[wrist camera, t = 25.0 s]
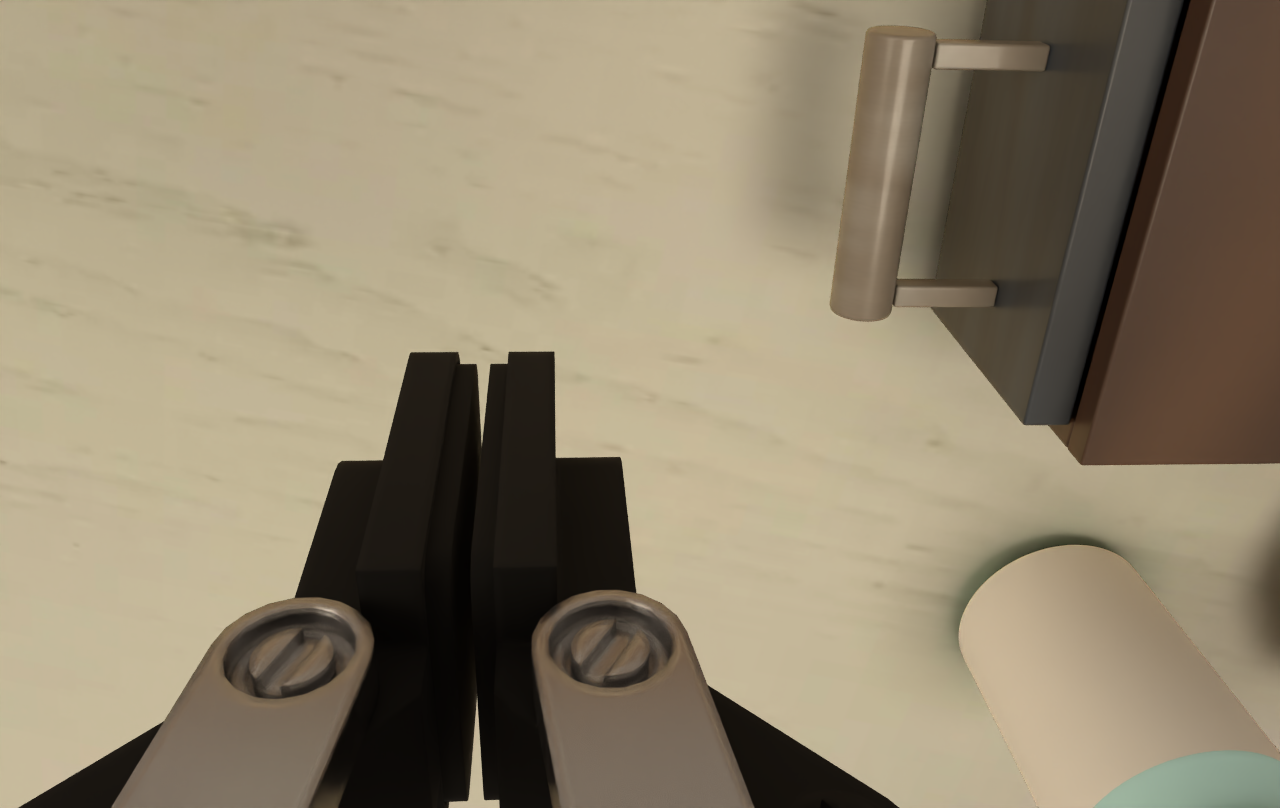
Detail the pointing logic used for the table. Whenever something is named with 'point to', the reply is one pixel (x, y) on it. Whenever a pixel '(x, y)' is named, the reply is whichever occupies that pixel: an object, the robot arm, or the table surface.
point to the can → (1108, 691)
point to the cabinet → (1198, 265)
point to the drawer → (1011, 182)
